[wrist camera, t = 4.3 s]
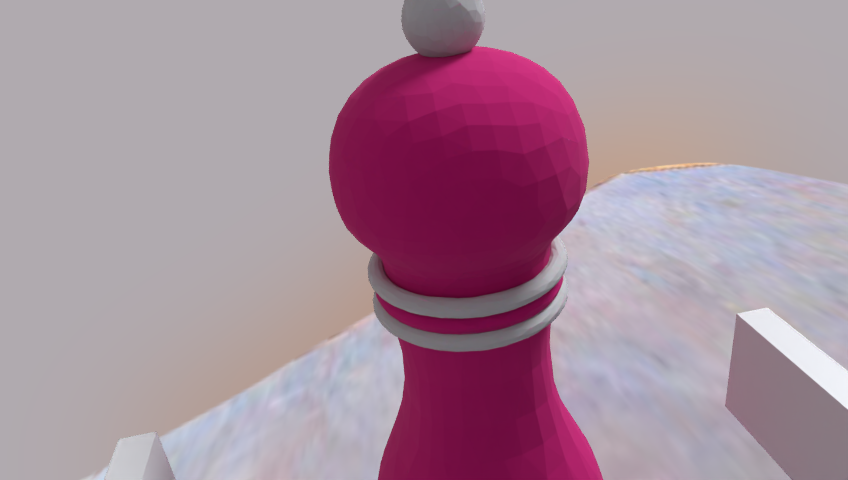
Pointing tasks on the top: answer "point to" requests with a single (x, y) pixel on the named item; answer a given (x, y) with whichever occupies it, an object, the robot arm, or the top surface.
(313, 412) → the top surface
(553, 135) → the pepper mill
